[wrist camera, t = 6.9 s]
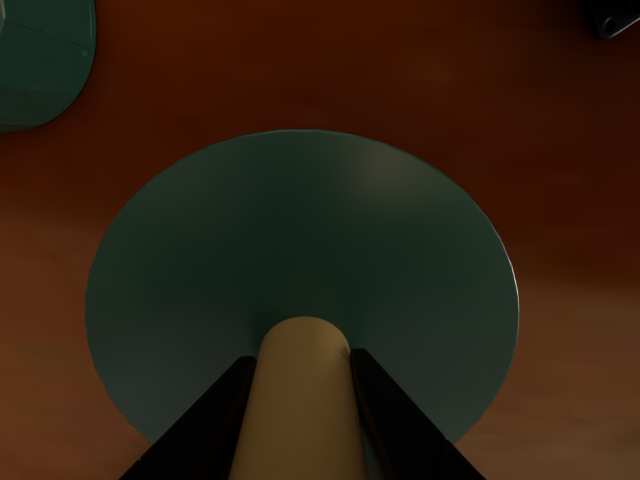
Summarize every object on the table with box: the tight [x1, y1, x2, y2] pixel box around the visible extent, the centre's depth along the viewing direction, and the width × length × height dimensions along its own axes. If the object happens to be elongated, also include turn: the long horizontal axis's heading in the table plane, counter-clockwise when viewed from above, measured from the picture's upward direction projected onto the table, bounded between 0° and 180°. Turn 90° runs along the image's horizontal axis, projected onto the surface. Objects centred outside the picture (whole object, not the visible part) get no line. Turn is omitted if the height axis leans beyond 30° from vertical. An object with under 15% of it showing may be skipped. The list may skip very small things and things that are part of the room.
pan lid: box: [85, 129, 520, 480], centre depth 8 cm, size 12×12×6 cm
